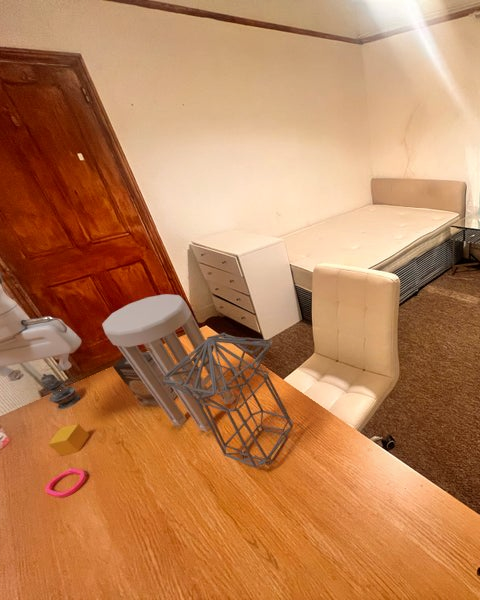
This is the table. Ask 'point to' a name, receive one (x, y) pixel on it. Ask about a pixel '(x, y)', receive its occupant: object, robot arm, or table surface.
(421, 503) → the table surface
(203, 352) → the geometric lantern
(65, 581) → the table surface
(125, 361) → the coffee box
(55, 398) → the dark gray tiered ornament
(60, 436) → the yellow block
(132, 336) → the stool
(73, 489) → the fitness band
